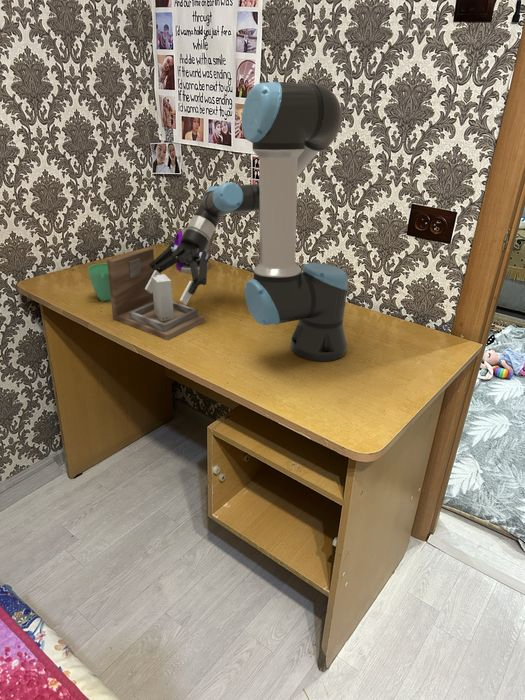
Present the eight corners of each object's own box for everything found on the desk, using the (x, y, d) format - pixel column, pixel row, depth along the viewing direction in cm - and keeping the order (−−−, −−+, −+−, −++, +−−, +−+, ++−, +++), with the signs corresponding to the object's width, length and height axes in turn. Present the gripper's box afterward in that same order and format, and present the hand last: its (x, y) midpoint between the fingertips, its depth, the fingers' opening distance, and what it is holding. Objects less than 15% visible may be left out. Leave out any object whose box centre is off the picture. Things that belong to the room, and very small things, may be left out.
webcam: (172, 262, 203) (170, 224, 196) (204, 260, 207) (204, 222, 200) (177, 274, 192) (176, 233, 185) (212, 271, 196) (212, 231, 189)
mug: (99, 306, 164) (96, 275, 159) (85, 296, 170) (82, 266, 166) (141, 296, 173) (139, 266, 168) (127, 287, 179) (124, 258, 174)
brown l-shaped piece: (205, 321, 158) (204, 263, 149) (167, 340, 146) (164, 278, 137) (151, 302, 168) (148, 247, 160) (112, 318, 156) (107, 260, 148)
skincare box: (174, 319, 154) (173, 280, 148) (159, 322, 152) (157, 282, 146) (167, 311, 159) (166, 273, 153) (153, 314, 157) (150, 275, 151)
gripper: (236, 250, 155) (204, 313, 151) (172, 234, 167) (141, 292, 163) (225, 236, 148) (191, 301, 144) (160, 220, 160) (127, 281, 156)
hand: (165, 297), depth 153 cm, fingers open, 13 cm apart
